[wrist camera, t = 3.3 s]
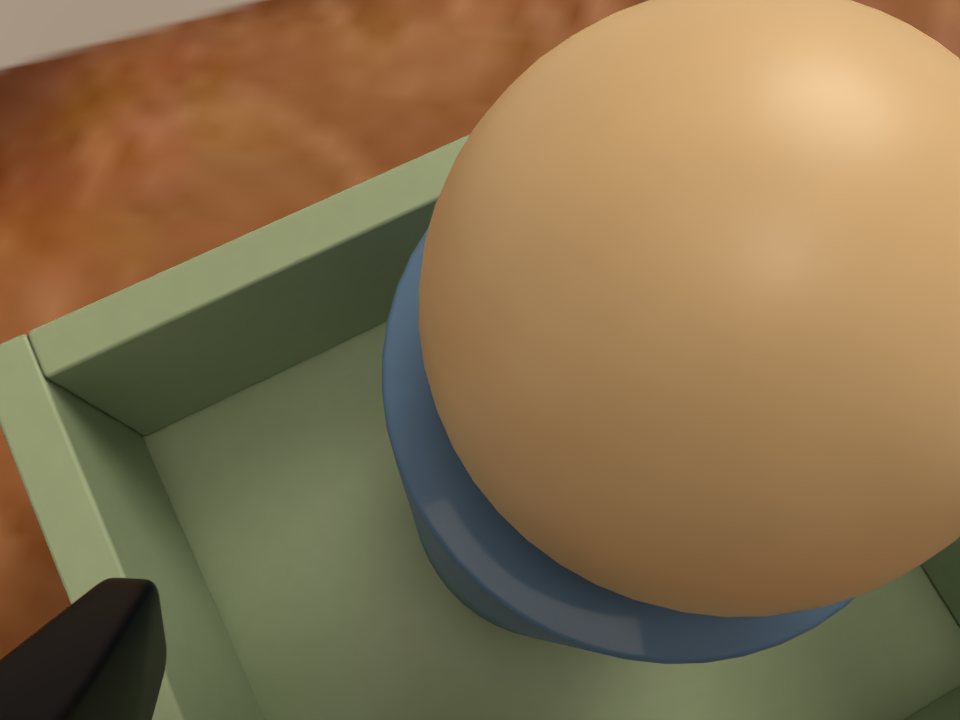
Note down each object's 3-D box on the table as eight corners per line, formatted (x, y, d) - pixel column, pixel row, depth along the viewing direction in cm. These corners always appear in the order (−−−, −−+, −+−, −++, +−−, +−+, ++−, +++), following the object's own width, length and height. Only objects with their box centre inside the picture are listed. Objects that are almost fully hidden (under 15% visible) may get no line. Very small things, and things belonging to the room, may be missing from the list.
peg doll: (495, 694, 16) (663, 954, 4) (365, 431, 18) (164, -36, 5) (748, 553, 17) (1571, 383, 5) (607, 311, 18) (957, -347, 6)
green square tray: (380, 1075, 16) (346, 1311, 10) (106, 430, 18) (-30, 355, 13) (1012, 684, 18) (1253, 713, 12) (681, 159, 21) (762, 1, 15)
